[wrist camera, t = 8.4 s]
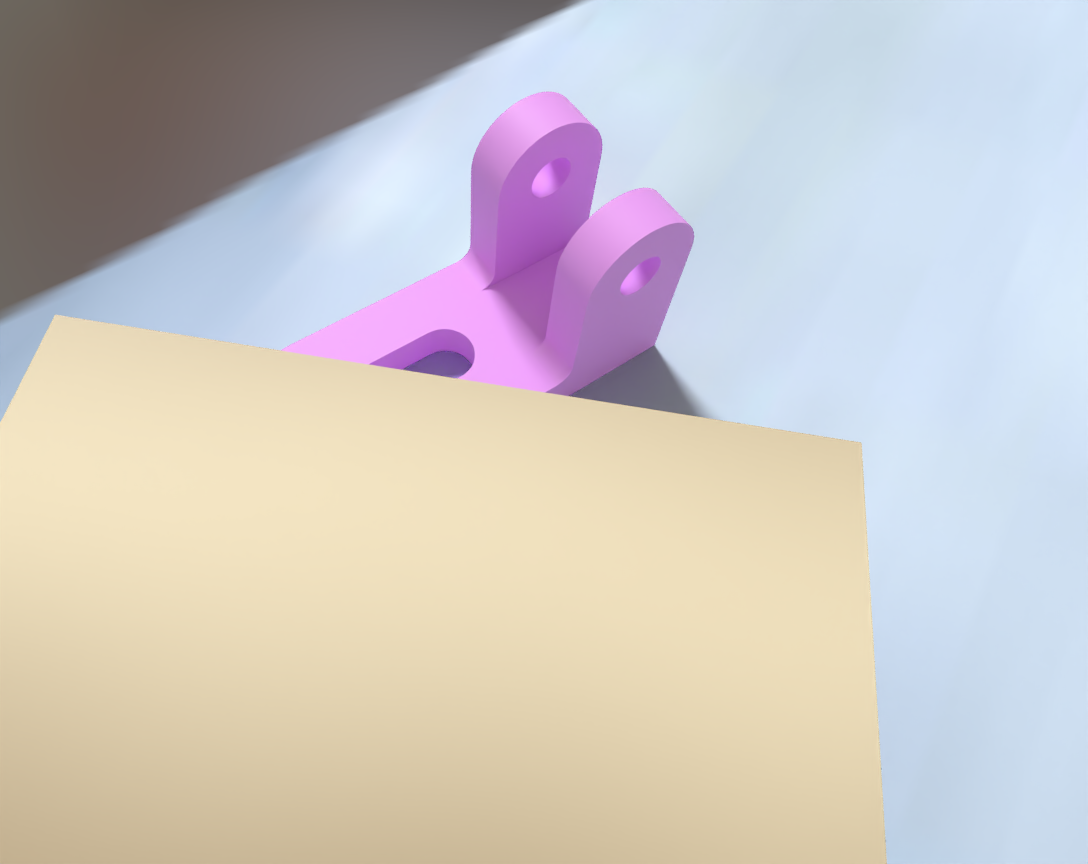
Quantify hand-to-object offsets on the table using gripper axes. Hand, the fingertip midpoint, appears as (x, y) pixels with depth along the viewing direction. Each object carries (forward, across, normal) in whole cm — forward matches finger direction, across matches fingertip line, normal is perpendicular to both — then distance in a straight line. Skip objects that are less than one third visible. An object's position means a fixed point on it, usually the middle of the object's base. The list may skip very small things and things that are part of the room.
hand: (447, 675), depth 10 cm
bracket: (+17, +2, +1) cm, 17 cm away
